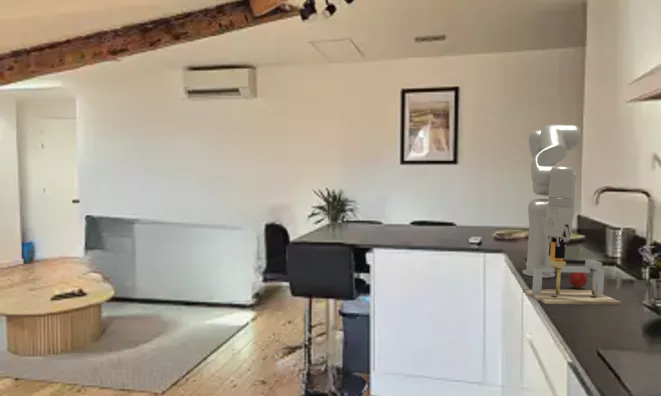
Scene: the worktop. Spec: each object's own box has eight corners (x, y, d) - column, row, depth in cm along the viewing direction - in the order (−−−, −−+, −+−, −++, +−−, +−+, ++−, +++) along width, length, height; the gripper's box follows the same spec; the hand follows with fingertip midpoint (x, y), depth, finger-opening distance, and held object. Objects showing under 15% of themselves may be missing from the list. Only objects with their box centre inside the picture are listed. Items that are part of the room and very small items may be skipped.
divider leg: (547, 291, 181) (551, 241, 179) (556, 291, 181) (559, 241, 180) (555, 294, 176) (558, 243, 175) (563, 294, 176) (567, 244, 175)
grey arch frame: (531, 293, 180) (534, 258, 179) (598, 294, 182) (600, 260, 181) (538, 297, 175) (540, 261, 174) (606, 298, 177) (609, 262, 177)
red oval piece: (567, 288, 194) (568, 267, 194) (571, 286, 199) (572, 265, 198) (584, 291, 191) (585, 269, 190) (587, 289, 195) (589, 267, 195)
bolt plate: (522, 291, 187) (523, 288, 187) (592, 292, 189) (592, 289, 189) (545, 303, 171) (545, 300, 171) (620, 304, 173) (620, 301, 173)
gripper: (537, 201, 185) (534, 252, 186) (562, 204, 169) (558, 261, 170) (557, 201, 186) (554, 253, 187) (584, 205, 169) (580, 262, 171)
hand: (556, 256), depth 178 cm, fingers closed on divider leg, 3 cm apart
